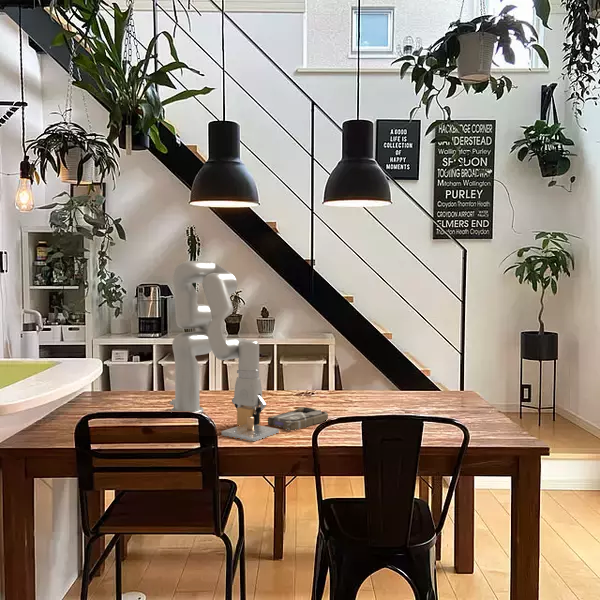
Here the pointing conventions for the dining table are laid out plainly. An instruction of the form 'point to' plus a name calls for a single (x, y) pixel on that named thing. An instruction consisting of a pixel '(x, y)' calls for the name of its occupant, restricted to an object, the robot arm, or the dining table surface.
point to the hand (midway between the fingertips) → (248, 422)
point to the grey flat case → (298, 418)
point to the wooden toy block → (244, 414)
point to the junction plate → (250, 431)
